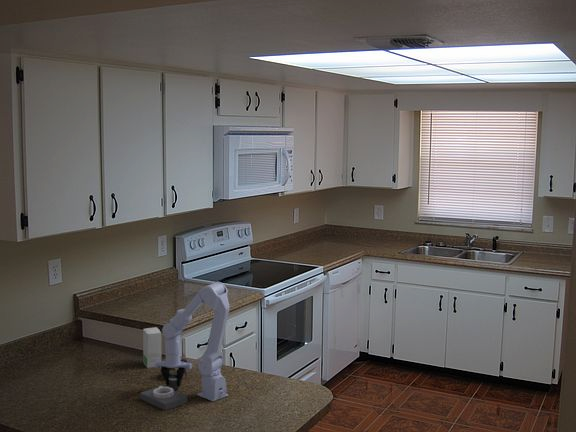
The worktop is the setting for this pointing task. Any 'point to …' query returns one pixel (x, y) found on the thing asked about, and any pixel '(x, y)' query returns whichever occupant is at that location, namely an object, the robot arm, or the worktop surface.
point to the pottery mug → (185, 370)
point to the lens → (173, 381)
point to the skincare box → (151, 346)
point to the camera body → (163, 397)
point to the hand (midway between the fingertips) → (173, 385)
